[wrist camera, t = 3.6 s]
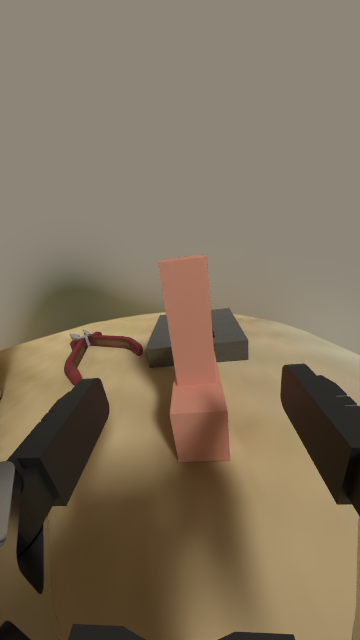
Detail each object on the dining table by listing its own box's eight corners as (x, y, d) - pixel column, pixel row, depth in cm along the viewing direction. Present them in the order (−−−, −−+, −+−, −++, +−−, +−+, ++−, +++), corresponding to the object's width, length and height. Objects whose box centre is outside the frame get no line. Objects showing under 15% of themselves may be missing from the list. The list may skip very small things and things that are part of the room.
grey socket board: (149, 367, 29) (145, 349, 28) (162, 328, 42) (159, 315, 41) (248, 359, 27) (248, 340, 26) (229, 322, 40) (229, 308, 39)
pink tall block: (178, 462, 16) (142, 269, 10) (182, 385, 24) (163, 257, 19) (229, 460, 15) (219, 259, 10) (215, 383, 24) (206, 252, 18)
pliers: (103, 328, 48) (100, 318, 47) (147, 355, 33) (144, 341, 32) (49, 347, 41) (44, 336, 40) (74, 393, 26) (68, 376, 25)
